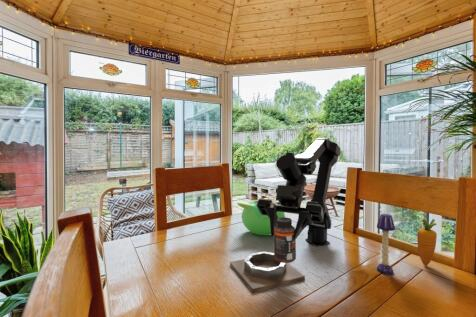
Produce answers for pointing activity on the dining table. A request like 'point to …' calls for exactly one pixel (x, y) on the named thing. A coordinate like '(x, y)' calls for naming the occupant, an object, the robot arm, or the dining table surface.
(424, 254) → the carrot
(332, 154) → the robot arm
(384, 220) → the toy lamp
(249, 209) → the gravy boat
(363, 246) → the dining table surface
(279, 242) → the supplement bottle
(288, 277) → the stand
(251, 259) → the ring
